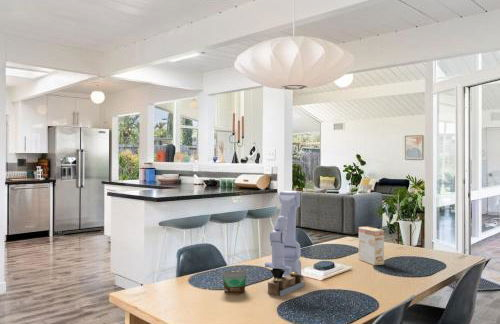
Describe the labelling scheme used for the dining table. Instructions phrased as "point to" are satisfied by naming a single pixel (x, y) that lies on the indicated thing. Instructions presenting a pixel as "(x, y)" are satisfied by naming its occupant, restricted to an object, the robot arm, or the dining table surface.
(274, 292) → the wooden notched bar
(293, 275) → the keyhole posts
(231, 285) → the food container
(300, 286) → the back rail
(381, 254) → the coffeecake box
